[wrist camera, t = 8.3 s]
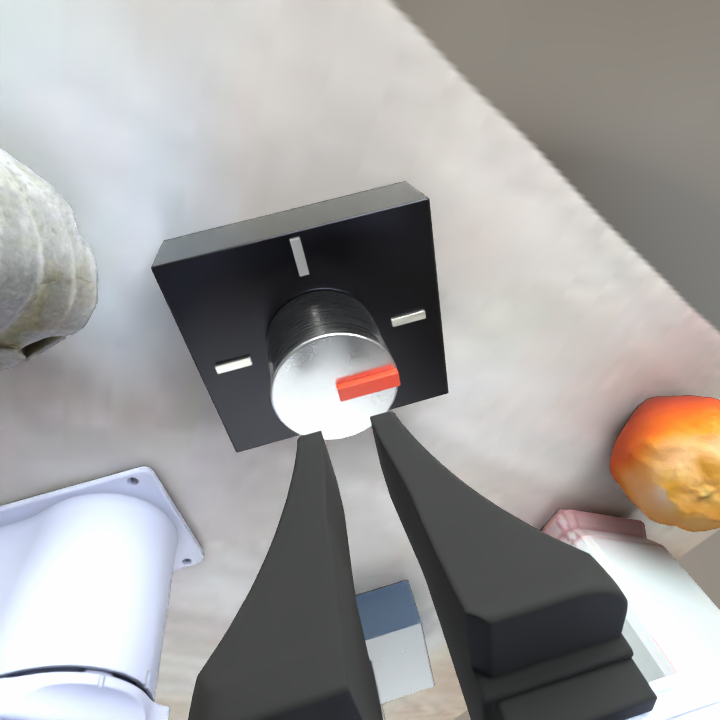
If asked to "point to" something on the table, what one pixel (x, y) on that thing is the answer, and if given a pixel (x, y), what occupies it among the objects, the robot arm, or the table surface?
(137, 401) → the table surface
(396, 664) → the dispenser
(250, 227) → the tap plate
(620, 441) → the fruit
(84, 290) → the seashell
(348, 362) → the rotary dial knob
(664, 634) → the bottle
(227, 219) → the table surface
